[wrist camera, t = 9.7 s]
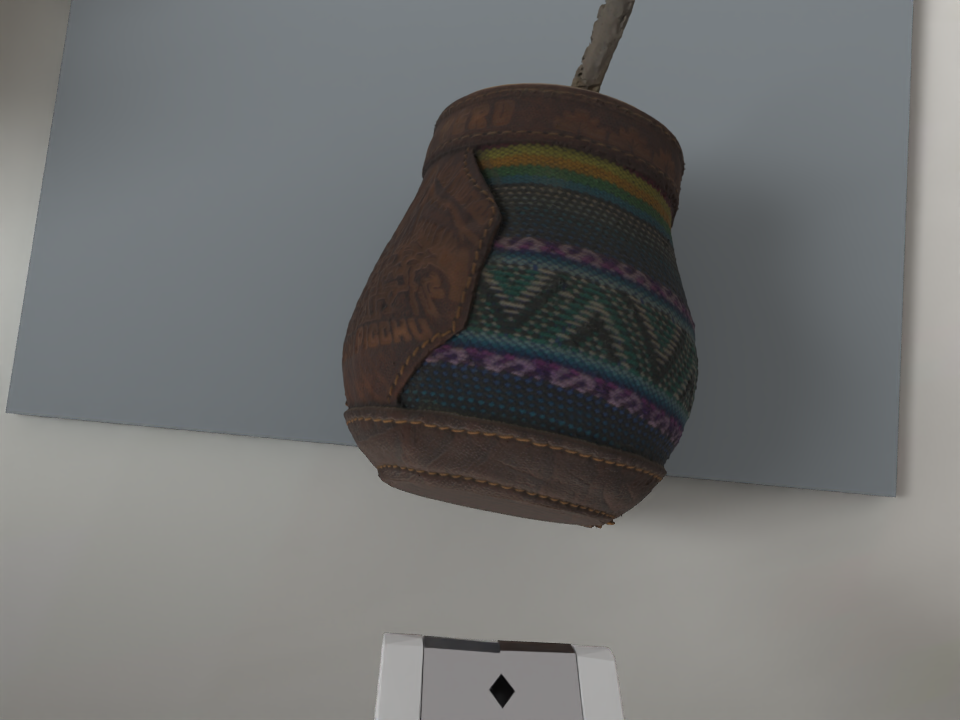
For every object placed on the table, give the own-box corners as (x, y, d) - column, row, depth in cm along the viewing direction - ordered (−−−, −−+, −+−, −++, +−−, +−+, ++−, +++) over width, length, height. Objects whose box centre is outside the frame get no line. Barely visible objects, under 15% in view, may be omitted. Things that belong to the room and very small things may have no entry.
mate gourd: (570, 535, 21) (630, 176, 24) (774, 555, 14) (831, 42, 17) (288, 474, 19) (384, 83, 21) (367, 462, 12) (497, -117, 14)
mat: (16, 414, 20) (5, 412, 20) (112, -190, 22) (105, -208, 22) (882, 495, 22) (896, 497, 22) (903, -68, 24) (916, -81, 24)
